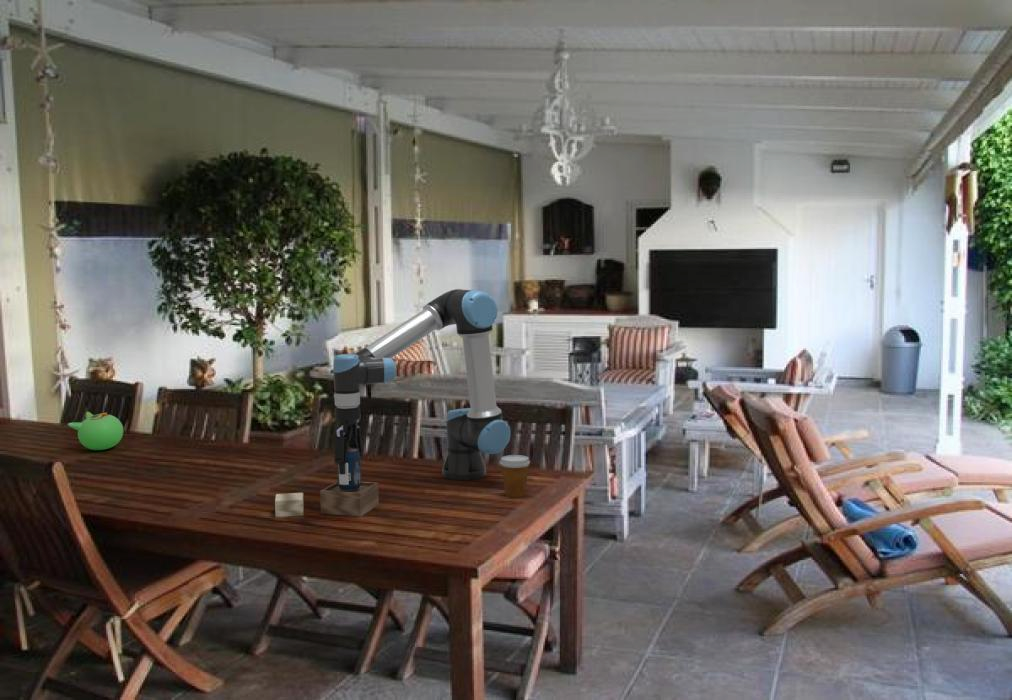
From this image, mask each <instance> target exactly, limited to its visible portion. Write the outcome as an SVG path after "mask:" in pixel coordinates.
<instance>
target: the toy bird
mask: <svg viewBox="0 0 1012 700" xmlns="http://www.w3.org/2000/svg"><path fill="white" fill-rule="evenodd" d="M67 426H68V427H70V428H71V429H74V430H76V431H77V438H78V441H79V442H80V443H81V445H82V446H83V447H84V448H85V449H89V450H92V451H104V450H108V449H111V448H113V447H115V446H116V445H117V444H119V443H120V442H121V440H122V438H123V436H124V426H123V423H122V422H121V420H120V419H118V418H117V417H116V416H114V415H112V414H108V412H102V413H97V414H92V413H91V412H89V411H86V412H85V419H83V420H82V422H81V421H80V422H69V423H67Z"/></svg>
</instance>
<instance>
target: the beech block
mask: <svg viewBox="0 0 1012 700" xmlns="http://www.w3.org/2000/svg"><path fill="white" fill-rule="evenodd" d="M274 500H275V501H274V505H275V506H274V507H275V508H274V509H275V518H283V517H285V518H286V517H298V516H304V512H305V511H304V492H292V493H276V494H275V498H274Z"/></svg>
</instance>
